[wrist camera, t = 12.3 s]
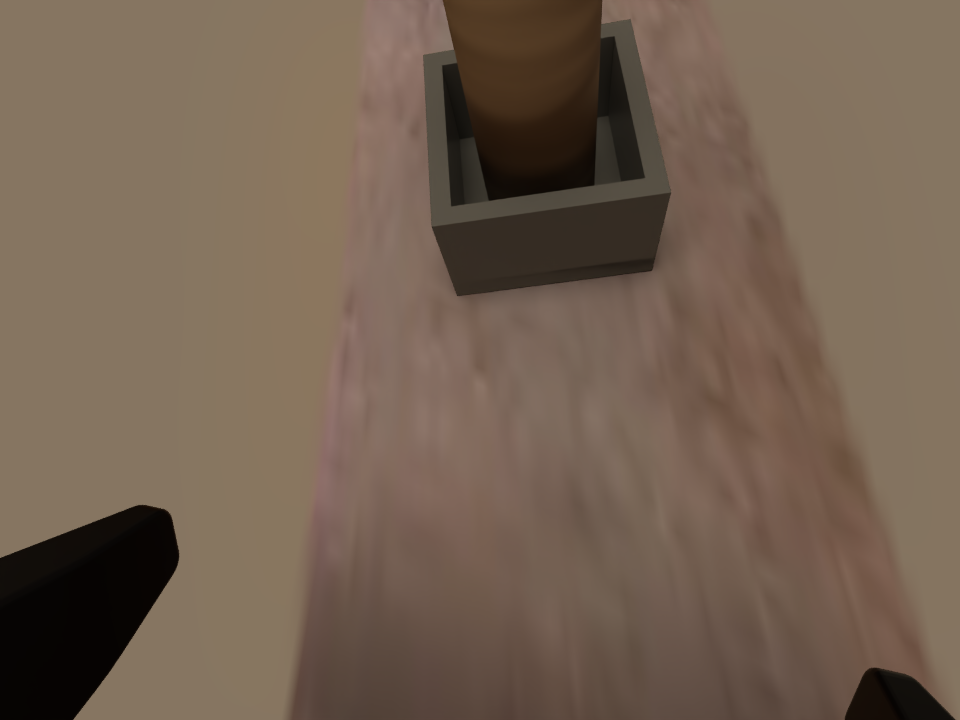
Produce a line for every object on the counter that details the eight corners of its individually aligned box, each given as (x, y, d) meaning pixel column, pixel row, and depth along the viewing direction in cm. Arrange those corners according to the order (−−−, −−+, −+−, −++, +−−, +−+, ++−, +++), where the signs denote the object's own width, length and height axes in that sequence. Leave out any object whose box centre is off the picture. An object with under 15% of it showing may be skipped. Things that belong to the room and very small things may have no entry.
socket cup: (651, 270, 24) (671, 192, 20) (457, 295, 25) (431, 226, 20) (620, 117, 27) (630, 19, 22) (447, 145, 28) (423, 55, 23)
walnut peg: (571, 247, 24) (566, -101, 12) (471, 218, 25) (373, -125, 13) (609, 159, 25) (638, -237, 13) (511, 136, 26) (456, -248, 14)
